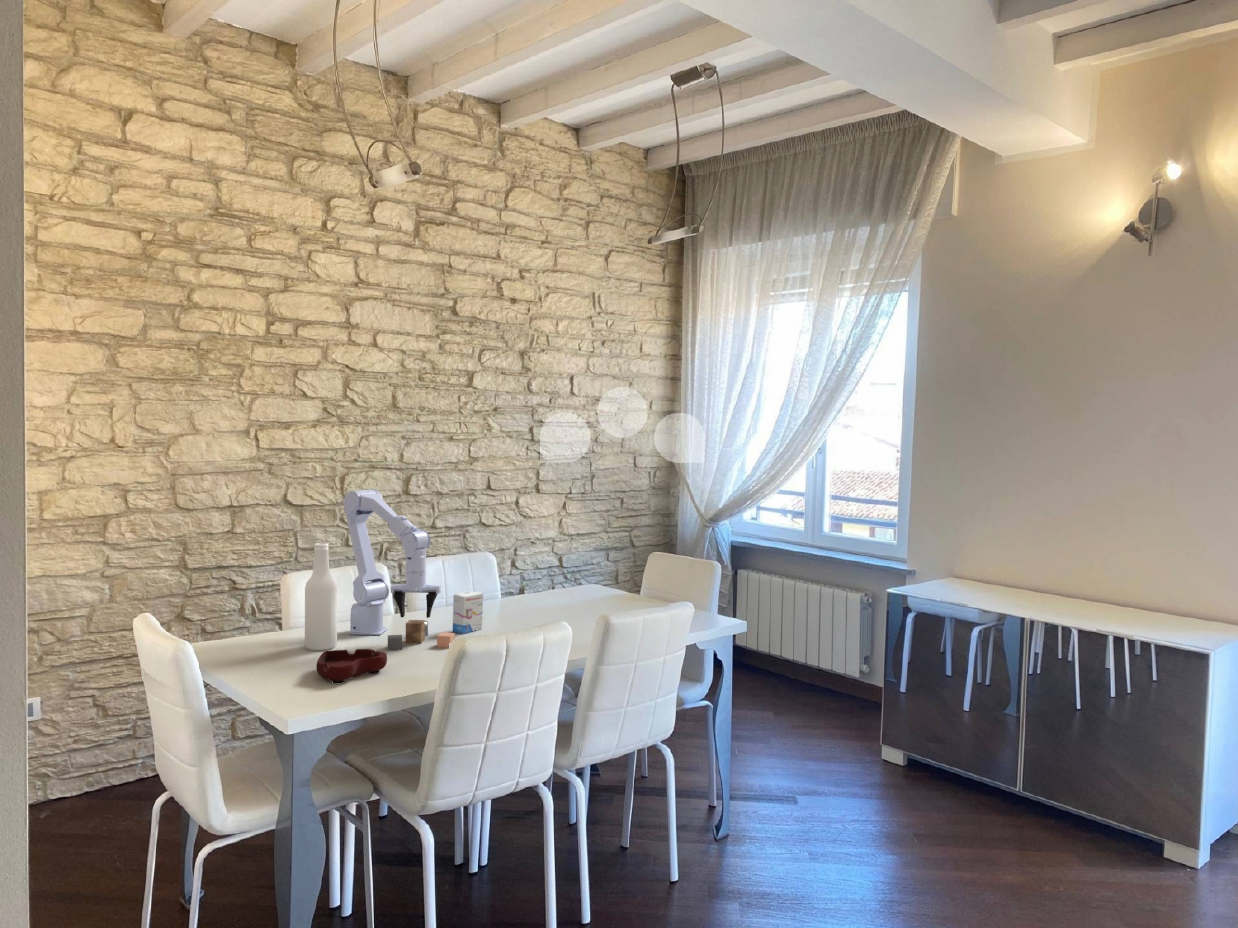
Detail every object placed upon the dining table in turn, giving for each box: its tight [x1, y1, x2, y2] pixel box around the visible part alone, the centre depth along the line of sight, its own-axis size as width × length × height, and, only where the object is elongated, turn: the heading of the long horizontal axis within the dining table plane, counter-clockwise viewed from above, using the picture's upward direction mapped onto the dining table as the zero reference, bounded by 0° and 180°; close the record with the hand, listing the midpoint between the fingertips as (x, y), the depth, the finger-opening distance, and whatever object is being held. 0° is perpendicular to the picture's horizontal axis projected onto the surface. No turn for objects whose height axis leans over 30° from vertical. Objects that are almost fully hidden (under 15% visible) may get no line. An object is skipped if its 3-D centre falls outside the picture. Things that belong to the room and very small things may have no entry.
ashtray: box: [315, 648, 388, 684], centre depth 230 cm, size 18×16×5 cm
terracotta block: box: [436, 631, 456, 649], centre depth 260 cm, size 4×4×4 cm
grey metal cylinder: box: [425, 620, 429, 637], centre depth 272 cm, size 4×4×4 cm
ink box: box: [452, 590, 484, 634], centre depth 278 cm, size 9×5×12 cm, turn 143°
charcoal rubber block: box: [387, 634, 403, 651], centre depth 256 cm, size 4×4×4 cm
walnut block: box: [405, 619, 426, 645], centre depth 264 cm, size 5×5×6 cm
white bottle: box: [304, 542, 338, 652], centre depth 254 cm, size 9×9×30 cm
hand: (415, 616), depth 263 cm, fingers open, 7 cm apart
